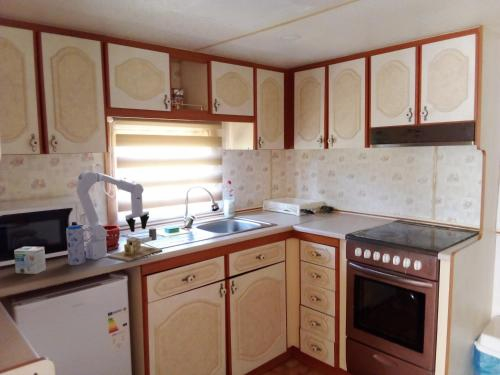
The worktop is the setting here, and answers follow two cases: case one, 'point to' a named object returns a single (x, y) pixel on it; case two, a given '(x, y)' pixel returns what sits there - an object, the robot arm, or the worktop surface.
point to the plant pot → (112, 236)
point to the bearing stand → (138, 251)
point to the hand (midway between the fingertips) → (138, 230)
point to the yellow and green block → (150, 236)
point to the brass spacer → (128, 251)
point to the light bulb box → (30, 260)
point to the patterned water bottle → (75, 244)
